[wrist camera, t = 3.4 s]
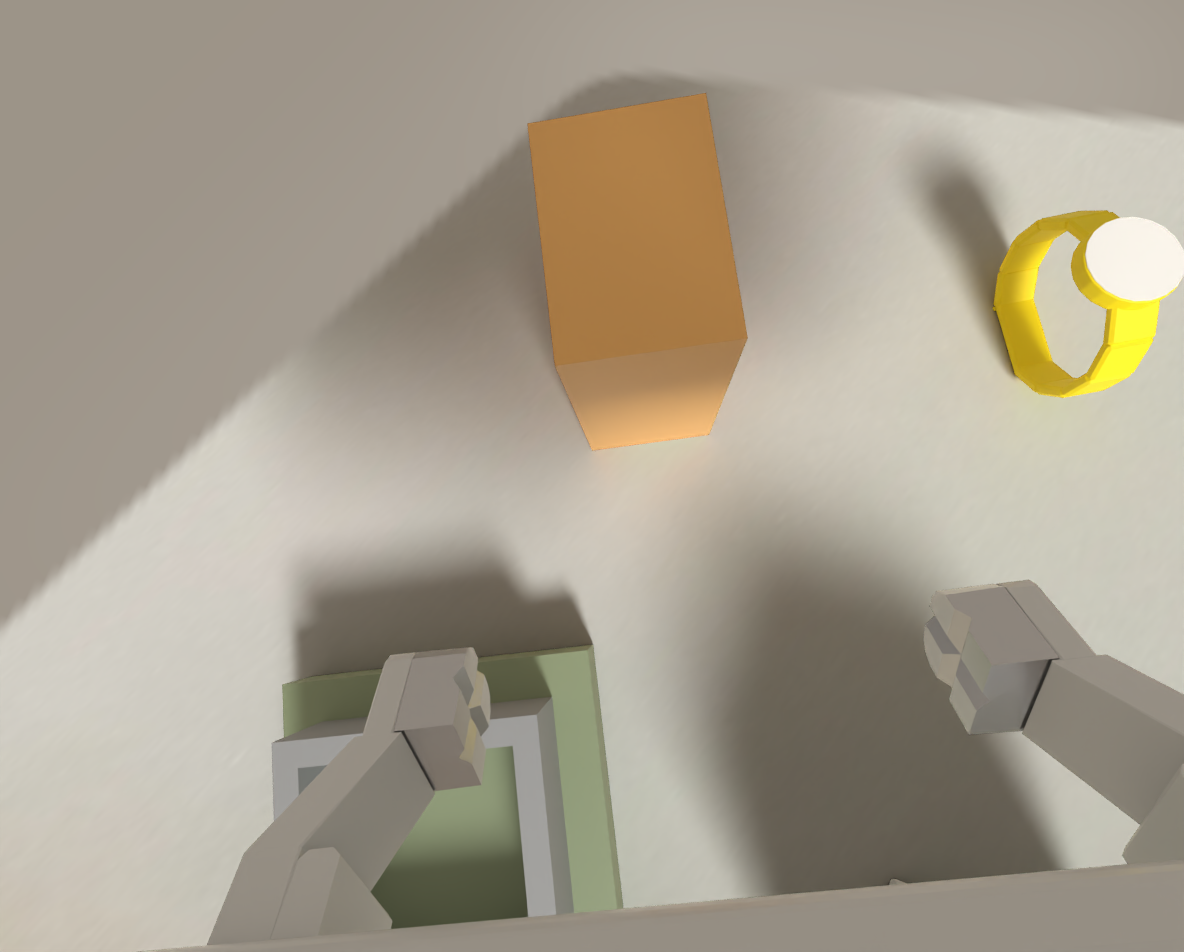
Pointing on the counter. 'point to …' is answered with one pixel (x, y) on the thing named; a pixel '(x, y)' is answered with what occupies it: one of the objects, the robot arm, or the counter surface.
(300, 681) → the grey-rimmed base plate
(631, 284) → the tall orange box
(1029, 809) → the counter surface
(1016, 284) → the watch
